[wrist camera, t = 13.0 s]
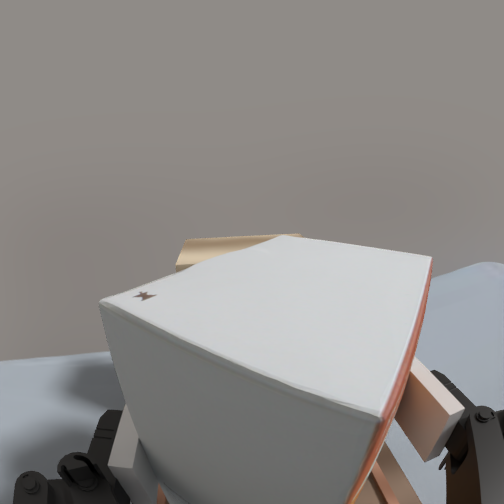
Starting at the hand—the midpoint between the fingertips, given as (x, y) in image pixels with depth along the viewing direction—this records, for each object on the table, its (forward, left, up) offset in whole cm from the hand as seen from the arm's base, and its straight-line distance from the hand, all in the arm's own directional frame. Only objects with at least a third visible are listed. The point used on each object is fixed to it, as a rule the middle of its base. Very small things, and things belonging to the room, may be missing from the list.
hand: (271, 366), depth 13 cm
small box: (-4, 0, -7) cm, 8 cm away
